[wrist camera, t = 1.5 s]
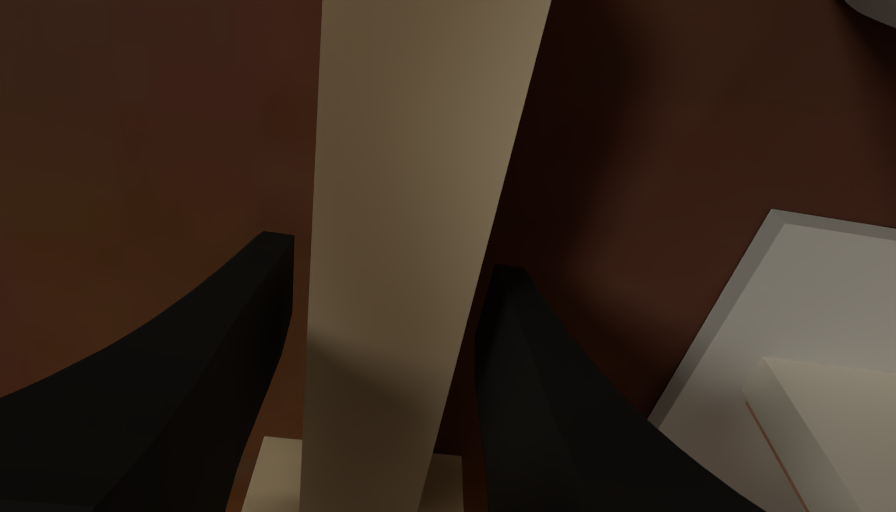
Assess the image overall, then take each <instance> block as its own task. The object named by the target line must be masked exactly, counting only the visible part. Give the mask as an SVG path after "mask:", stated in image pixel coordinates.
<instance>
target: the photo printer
mask: <svg viewBox="0 0 896 512" xmlns="http://www.w3.org/2000/svg"><path fill="white" fill-rule="evenodd" d="M844 1H845V2H846V3H848V4H849V5H850V6H851V7H852V8H853V9H855V10H856V11H858V12H860V13H861V14H863V15H865V16H867V17H870V18H872V19H875V20H877V21H879V22H882V23H884V24H887V25H889V26H892V27H895V28H896V0H844Z"/></svg>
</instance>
